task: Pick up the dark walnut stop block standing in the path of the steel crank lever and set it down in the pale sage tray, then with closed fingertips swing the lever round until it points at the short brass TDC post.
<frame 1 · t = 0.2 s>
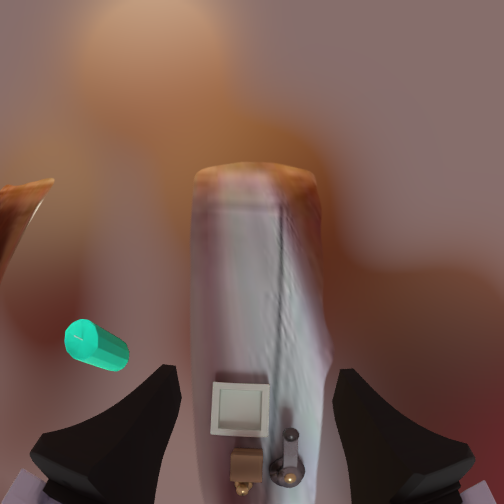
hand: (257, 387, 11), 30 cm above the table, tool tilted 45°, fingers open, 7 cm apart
crank base: (286, 470, 31), on the table
crank: (289, 457, 30), point 3 cm above the table, hinge at 0.0°
stop block: (247, 460, 33), on the table
candle: (114, 354, 41), on the table
tray: (240, 409, 37), on the table
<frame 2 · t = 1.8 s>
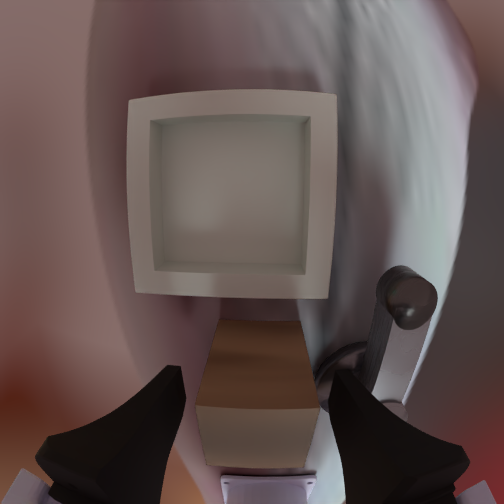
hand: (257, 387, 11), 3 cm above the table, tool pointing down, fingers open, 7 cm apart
crank base: (356, 376, 14), on the table
crank: (385, 367, 11), point 3 cm above the table, hinge at 0.0°, touching gripper
stop block: (258, 353, 14), on the table
tray: (232, 191, 12), on the table
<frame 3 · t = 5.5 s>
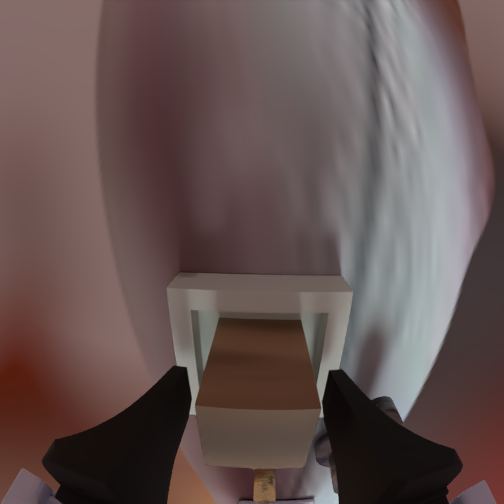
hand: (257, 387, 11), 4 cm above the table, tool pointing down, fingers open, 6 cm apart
crank base: (345, 442, 17), on the table
crank: (364, 450, 14), point 3 cm above the table, hinge at 0.1°
stop block: (258, 351, 14), point 1 cm above the table, touching tray
tray: (258, 344, 15), on the table
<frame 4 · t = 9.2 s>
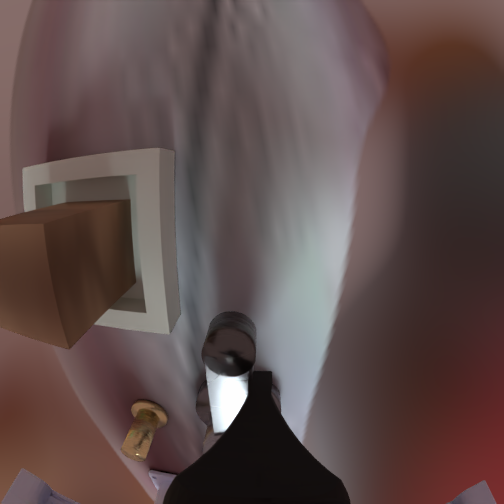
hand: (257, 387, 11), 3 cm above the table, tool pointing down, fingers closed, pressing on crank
crank base: (239, 400, 16), on the table
crank: (233, 401, 12), point 3 cm above the table, hinge at 1.1°, touching gripper
stop block: (98, 241, 12), point 1 cm above the table, touching tray
tray: (103, 236, 13), on the table
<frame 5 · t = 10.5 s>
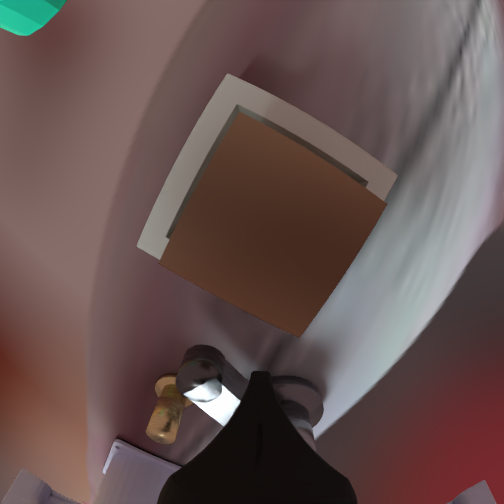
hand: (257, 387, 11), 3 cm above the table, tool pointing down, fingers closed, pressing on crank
crank base: (281, 404, 16), on the table
crank: (251, 414, 12), point 3 cm above the table, hinge at 67.2°, touching gripper
stop block: (265, 206, 12), point 1 cm above the table, touching tray
candle: (45, 4, 9), on the table
tray: (265, 202, 13), on the table
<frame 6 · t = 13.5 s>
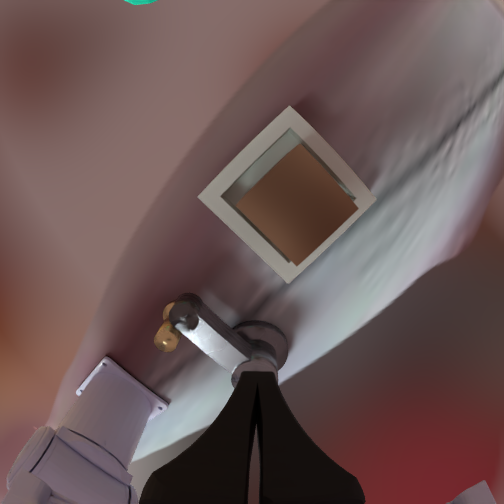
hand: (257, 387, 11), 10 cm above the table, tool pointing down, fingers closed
crank base: (256, 347, 22), on the table
crank: (225, 345, 19), point 3 cm above the table, hinge at 88.1°
stop block: (287, 195, 18), point 1 cm above the table, touching tray
tray: (287, 193, 19), on the table
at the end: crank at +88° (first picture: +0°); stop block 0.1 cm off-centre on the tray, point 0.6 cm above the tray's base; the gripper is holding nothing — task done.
